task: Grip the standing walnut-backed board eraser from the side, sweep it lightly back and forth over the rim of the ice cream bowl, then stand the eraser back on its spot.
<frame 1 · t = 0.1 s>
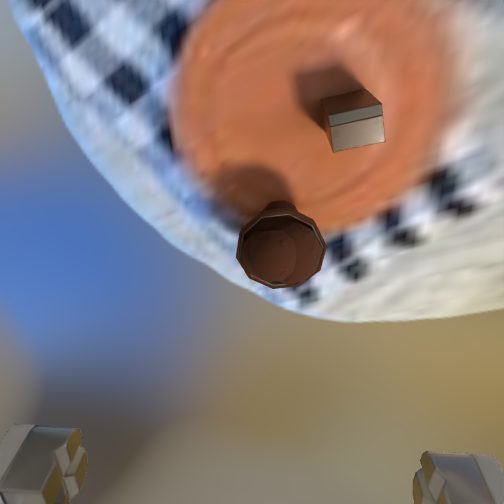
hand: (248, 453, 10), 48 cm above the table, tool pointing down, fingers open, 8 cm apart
eraser: (345, 110, 52), on the table
ice cream bowl: (280, 218, 60), on the table
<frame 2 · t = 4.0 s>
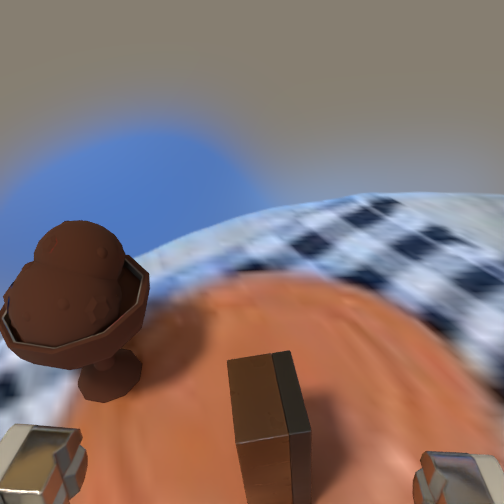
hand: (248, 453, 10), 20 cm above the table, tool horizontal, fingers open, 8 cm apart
eraser: (273, 470, 29), on the table
ice cream bowl: (111, 376, 37), on the table
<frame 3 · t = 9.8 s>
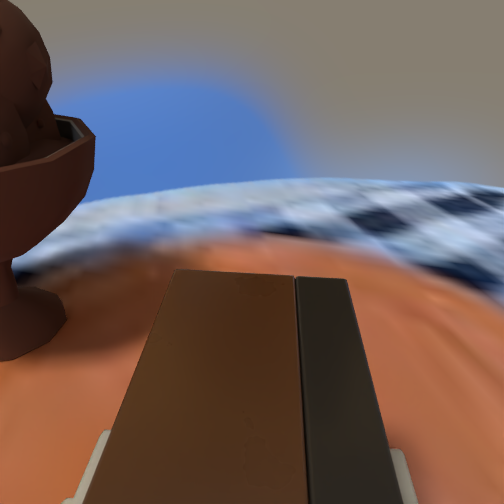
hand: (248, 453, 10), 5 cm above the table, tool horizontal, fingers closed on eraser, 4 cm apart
ice cream bowl: (9, 327, 22), on the table
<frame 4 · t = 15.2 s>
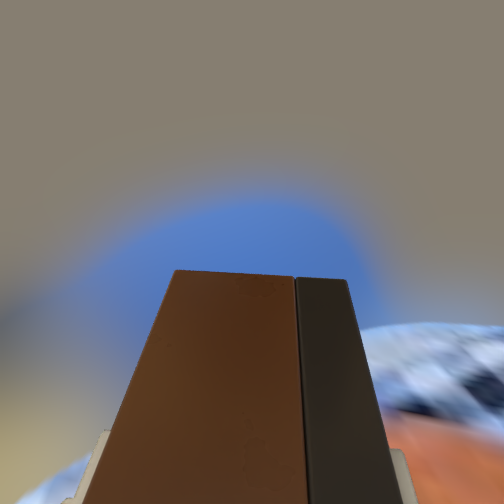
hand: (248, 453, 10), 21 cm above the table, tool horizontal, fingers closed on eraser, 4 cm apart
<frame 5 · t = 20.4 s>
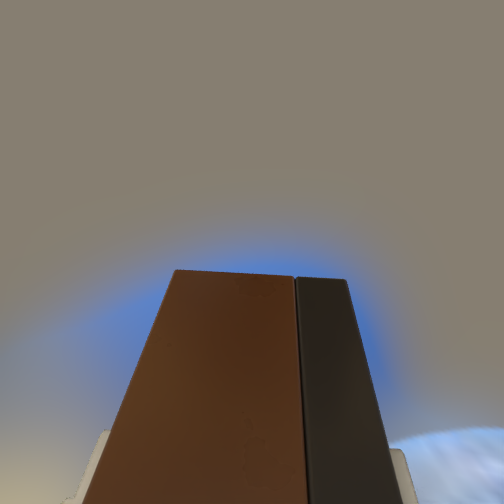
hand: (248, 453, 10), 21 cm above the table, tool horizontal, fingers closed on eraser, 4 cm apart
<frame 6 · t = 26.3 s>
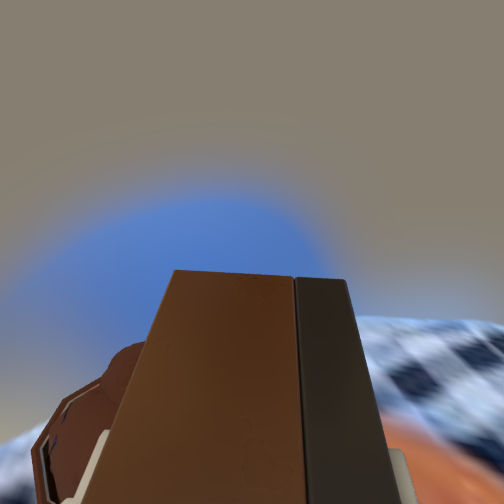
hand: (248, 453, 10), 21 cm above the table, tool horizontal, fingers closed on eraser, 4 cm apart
when the fingers open (5 cm above the table, at t = 31.2 s): eraser stays where it is, on the table.
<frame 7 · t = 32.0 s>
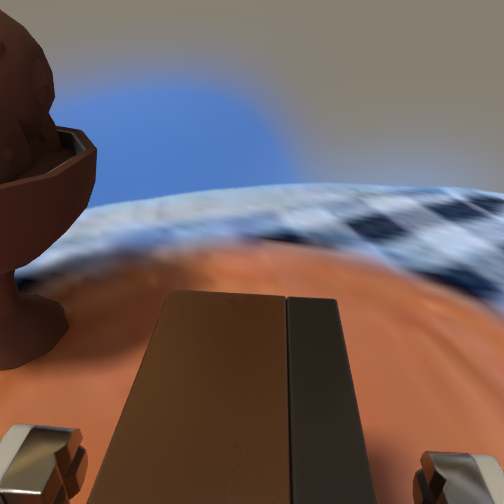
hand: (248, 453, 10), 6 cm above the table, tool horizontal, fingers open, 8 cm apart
ice cream bowl: (12, 335, 22), on the table
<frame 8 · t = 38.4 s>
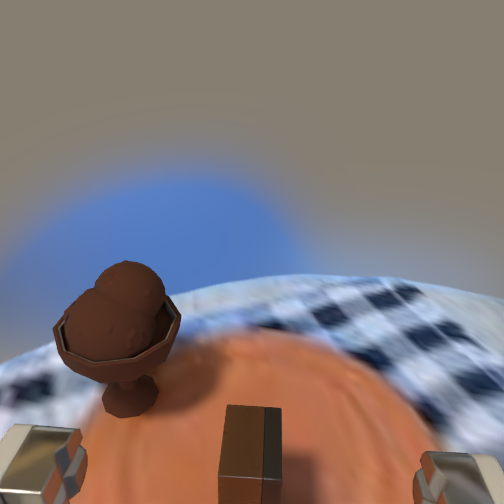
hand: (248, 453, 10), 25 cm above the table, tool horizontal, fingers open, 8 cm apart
ice cream bowl: (130, 396, 43), on the table
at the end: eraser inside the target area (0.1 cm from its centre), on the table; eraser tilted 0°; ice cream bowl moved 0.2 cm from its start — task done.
